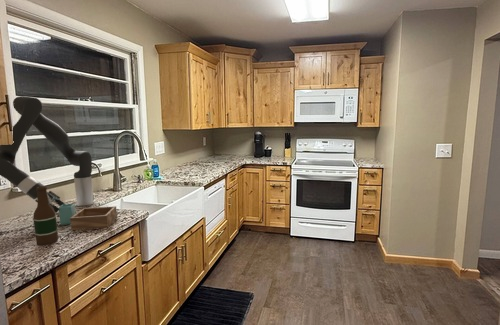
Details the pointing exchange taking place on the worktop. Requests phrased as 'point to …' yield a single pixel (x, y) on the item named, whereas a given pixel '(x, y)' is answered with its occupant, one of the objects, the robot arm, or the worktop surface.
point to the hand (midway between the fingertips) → (61, 208)
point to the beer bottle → (44, 219)
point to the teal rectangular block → (66, 213)
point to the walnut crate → (93, 218)
